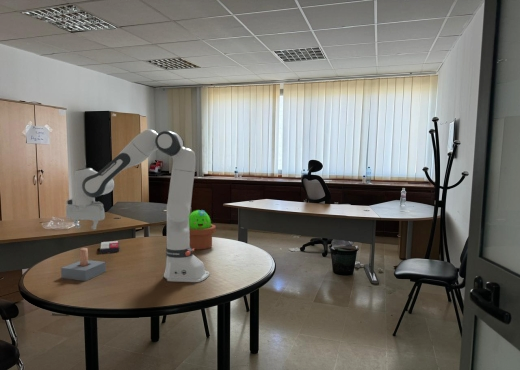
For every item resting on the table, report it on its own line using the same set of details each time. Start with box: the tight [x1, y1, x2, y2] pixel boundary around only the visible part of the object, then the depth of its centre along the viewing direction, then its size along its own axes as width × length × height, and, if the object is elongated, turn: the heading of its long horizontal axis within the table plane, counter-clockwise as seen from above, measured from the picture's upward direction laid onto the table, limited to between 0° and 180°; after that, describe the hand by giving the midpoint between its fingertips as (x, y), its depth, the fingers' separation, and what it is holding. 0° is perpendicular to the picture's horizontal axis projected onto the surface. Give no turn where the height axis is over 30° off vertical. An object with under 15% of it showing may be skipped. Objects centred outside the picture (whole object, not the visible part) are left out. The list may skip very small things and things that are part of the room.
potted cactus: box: [189, 209, 216, 250], centre depth 226 cm, size 22×22×25 cm
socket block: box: [60, 259, 107, 282], centre depth 170 cm, size 14×14×5 cm
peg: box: [79, 247, 89, 267], centre depth 169 cm, size 4×4×12 cm
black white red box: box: [99, 240, 120, 255], centre depth 216 cm, size 11×4×15 cm
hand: (86, 228), depth 169 cm, fingers open, 8 cm apart
